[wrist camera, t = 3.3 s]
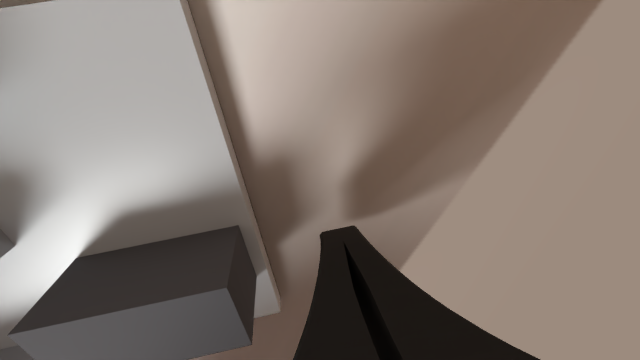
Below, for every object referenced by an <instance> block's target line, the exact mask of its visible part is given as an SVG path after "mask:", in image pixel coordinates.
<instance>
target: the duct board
mask: <svg viewBox="0 0 640 360" xmlns="http://www.w3.org/2000/svg"><path fill="white" fill-rule="evenodd" d="M236 225H239V228H240V230H241V233H242V236H243V239H244V242H245V245H246V247H247V250H248V253H249V256H250V259H251V261H252V264H253V267H254V270H255V273H256V276H257V280H256V294H255V308H254V318H258V317H263V316H267V315H271V314H276V313H280V312H281V302H280V295H279V292H278V289H277V286H276V283H275V279H274V276H273V273H272V270H271V267H270V264H269V260H268V257H267V254H266V251H265V248H264V244H263V241H262V238H261V235H260V232H259V228H258V225H257V222H256V219H255V216H254V212H253V209H252V206H251V203H250V200H249V196H248V193H247V190H246V187H245V184H244V180H243V177H242V174H241V171H240V168H239V165H238V161H237V158H236V155H235V152H234V149H233V145H232V142H231V139H230V136H229V133H228V129H227V126H226V123H225V120H224V117H223V113H222V110H221V107H220V104H219V101H218V97H217V94H216V91H215V88H214V85H213V81H212V78H211V75H210V72H209V69H208V66H207V62H206V59H205V56H204V53H203V50H202V46H201V43H200V40H199V37H198V34H197V30H196V27H195V24H194V21H193V18H192V14H191V11H190V8H189V5H188V2H187V0H53V1H46V2H40V3H33V4H26V5H19V6H12V7H5V8H0V360H34V359H33V358H32V357H31V356H30V355H29V354H28V353H26V352H25V351H24V350H23V349H22V348H21V347H20V346H19V345H17V344H16V343H15V342H14V341H13V340H12V339H11V338H9V337H8V336H7V335H8V334H9V333H10V331H11V330H12V329H13V328H14V327H15V326H16V325H17V324H18V322H19V321H20V320H21V319H22V318H23V317H24V316H25V315H26V314H27V312H28V311H29V310H30V309H31V308H32V307H33V306H34V305H35V303H36V302H37V301H38V300H39V299H40V298H41V297H42V296H43V295H44V293H45V292H46V291H47V290H48V289H49V288H50V287H51V286H52V284H53V283H54V282H55V281H56V280H57V279H58V278H59V277H60V276H61V274H62V273H63V272H64V271H65V270H66V269H67V268H68V267H69V265H70V264H71V263H72V262H73V261H74V260H75V259H76V258H78V257H83V256H88V255H93V254H98V253H103V252H108V251H113V250H118V249H123V248H128V247H133V246H137V245H142V244H147V243H152V242H157V241H162V240H167V239H172V238H177V237H182V236H187V235H192V234H197V233H202V232H207V231H212V230H217V229H221V228H226V227H231V226H236Z"/></svg>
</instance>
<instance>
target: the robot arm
mask: <svg viewBox="0 0 640 360" xmlns="http://www.w3.org/2000/svg"><path fill="white" fill-rule="evenodd" d="M320 240H321V253H320V263H319V270H318V277H317V282H316V286H315V291H314V296H313V300H312V304H311V308H310V311H309V315H308V318H307V321H306V324H305V328H304V330H303V333H302V336H301V339H300V342H299V345H298V348H297V350H296V353H295V356H294V358H293V360H540V359H538V358H536V357H534V356H532V355H530V354H528V353H526V352H523V351H522V350H520V349H517V348H515V347H513V346H511V345H510V344H508V343H506V342H504V341H502V340H500V339H498V338H497V337H495V336H493V335H491V334H490V333H488V332H486V331H484V330H483V329H481V328H479V327H478V326H476V325H474V324H473V323H471V322H470V321H468V320H466V319H465V318H463V317H461V316H460V315H458V314H456V313H455V312H453V311H452V310H450V309H448V308H447V307H445V306H444V305H443V304H441V303H440V302H438V301H437V300H435V299H434V298H433V297H431V296H430V295H429V294H427V293H426V292H424V291H423V290H422V289H420V288H419V287H418V286H416V285H415V284H414V283H413V282H411V281H410V280H409V279H408V278H407V277H405V276H404V275H403V274H402V273H401V272H400V271H398V270H397V269H396V268H395V267H394V266H393V265H392V264H391V263H389V262H388V261H387V260H386V259H385V258H384V257H383V256H382V255H381V254H380V253H379V252H378V251H377V250H376V249H375V248H374V247H373V246H372V245H371V244H370V243H369V242H368V241H367V239H366V238H365V237H364V236H363V235H362V234H361V233H360V231H359V230H358V229H357V228H356V227H355V226H349V227H344V228H339V229H335V230H330V231H325V232H322V233H321V234H320Z"/></svg>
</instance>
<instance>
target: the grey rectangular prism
mask: <svg viewBox="0 0 640 360" xmlns="http://www.w3.org/2000/svg"><path fill="white" fill-rule="evenodd" d="M256 280H257V276H256V273H255V270H254V267H253V264H252V261H251V259H250V256H249V253H248V250H247V247H246V245H245V242H244V239H243V236H242V233H241V230H240V228H239V225H236V226H231V227H226V228H221V229H217V230H212V231H207V232H202V233H197V234H192V235H187V236H182V237H177V238H172V239H167V240H162V241H157V242H152V243H147V244H142V245H137V246H133V247H128V248H123V249H118V250H113V251H108V252H103V253H98V254H93V255H88V256H83V257H78V258H76V259H75V260H74V261H73V262H72V263H71V264H70V265H69V267H68V268H67V269H66V270H65V271H64V272H63V273H62V274H61V276H60V277H59V278H58V279H57V280H56V281H55V282H54V283H53V284H52V286H51V287H50V288H49V289H48V290H47V291H46V292H45V293H44V295H43V296H42V297H41V298H40V299H39V300H38V301H37V302H36V303H35V305H34V306H33V307H32V308H31V309H30V310H29V311H28V312H27V314H26V315H25V316H24V317H23V318H22V319H21V320H20V321H19V322H18V324H17V325H16V326H15V327H14V328H13V329H12V330H11V331H10V333H9V334H8V335H7V336H8V337H9V338H11V339H12V340H13V341H14V342H15V343H16V344H17V345H19V346H20V347H21V348H22V349H23V350H24V351H25V352H26V353H28V354H29V355H30V356H31V357H32V358H33V359H34V360H188V359H192V358H197V357H201V356H205V355H210V354H214V353H218V352H223V351H227V350H231V349H236V348H240V347H244V346H249V345H252V335H253V321H254V308H255V294H256Z"/></svg>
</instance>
